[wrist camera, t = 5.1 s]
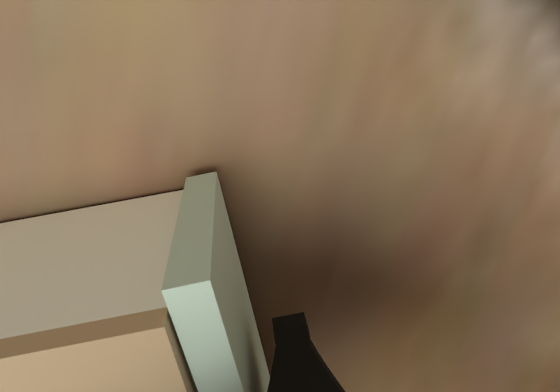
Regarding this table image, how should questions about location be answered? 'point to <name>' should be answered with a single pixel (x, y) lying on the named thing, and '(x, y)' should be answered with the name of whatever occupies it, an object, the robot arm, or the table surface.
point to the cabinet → (90, 301)
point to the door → (212, 295)
